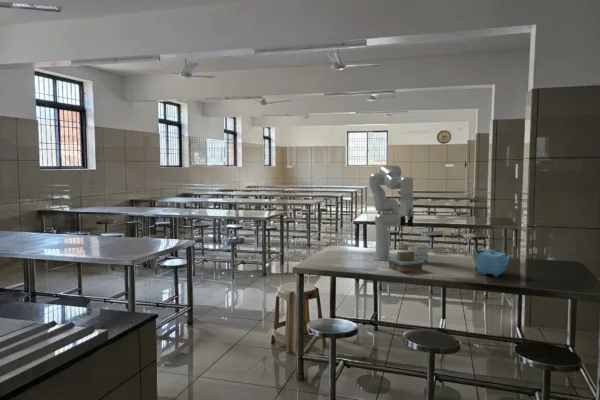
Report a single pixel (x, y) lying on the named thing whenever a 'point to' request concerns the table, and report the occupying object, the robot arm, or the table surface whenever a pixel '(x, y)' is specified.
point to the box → (405, 267)
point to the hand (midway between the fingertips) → (406, 225)
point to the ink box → (421, 253)
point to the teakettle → (491, 262)
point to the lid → (405, 258)
